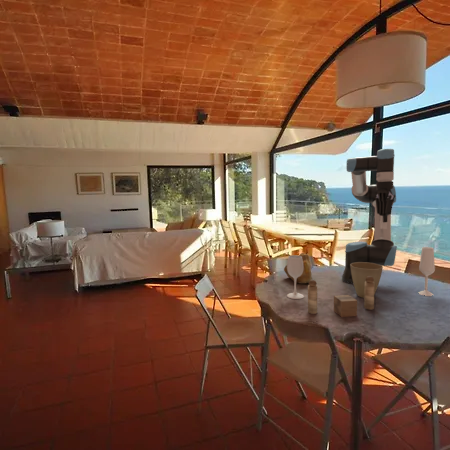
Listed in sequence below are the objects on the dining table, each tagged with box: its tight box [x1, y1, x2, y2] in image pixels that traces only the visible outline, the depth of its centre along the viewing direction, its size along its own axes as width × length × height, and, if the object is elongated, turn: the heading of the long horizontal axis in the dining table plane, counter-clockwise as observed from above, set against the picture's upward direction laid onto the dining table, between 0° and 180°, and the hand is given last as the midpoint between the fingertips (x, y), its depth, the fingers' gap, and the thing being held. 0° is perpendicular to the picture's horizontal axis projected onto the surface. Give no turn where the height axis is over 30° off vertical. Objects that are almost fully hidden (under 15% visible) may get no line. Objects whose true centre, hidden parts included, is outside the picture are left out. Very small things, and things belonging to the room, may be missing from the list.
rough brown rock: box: [283, 253, 313, 284], centre depth 184 cm, size 23×17×15 cm
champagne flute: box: [417, 246, 436, 297], centre depth 152 cm, size 7×7×24 cm
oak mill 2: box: [363, 276, 375, 311], centre depth 136 cm, size 4×4×15 cm
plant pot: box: [350, 262, 384, 299], centre depth 152 cm, size 15×15×16 cm
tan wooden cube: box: [333, 294, 358, 318], centre depth 132 cm, size 7×7×7 cm
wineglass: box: [286, 255, 305, 300], centre depth 154 cm, size 9×9×21 cm
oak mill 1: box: [307, 279, 318, 315], centre depth 133 cm, size 4×4×15 cm
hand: (383, 228), depth 150 cm, fingers closed
